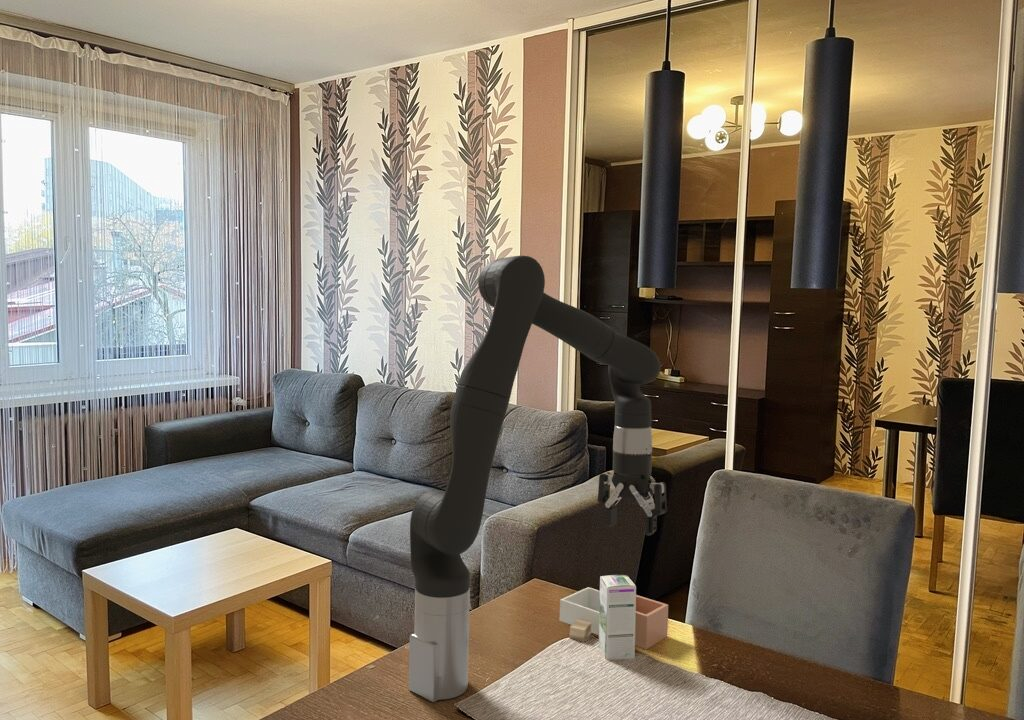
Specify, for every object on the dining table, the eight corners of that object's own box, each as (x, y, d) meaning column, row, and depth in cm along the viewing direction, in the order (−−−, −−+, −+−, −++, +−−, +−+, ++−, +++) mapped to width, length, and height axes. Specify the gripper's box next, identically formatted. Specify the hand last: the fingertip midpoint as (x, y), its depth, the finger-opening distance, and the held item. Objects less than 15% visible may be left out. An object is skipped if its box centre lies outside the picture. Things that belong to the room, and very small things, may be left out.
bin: (599, 638, 147) (600, 613, 146) (559, 623, 153) (560, 599, 153) (626, 623, 154) (627, 599, 154) (587, 609, 161) (588, 587, 161)
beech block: (583, 645, 144) (584, 630, 144) (569, 641, 145) (569, 627, 145) (590, 637, 147) (591, 622, 147) (576, 634, 149) (577, 619, 148)
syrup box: (635, 661, 137) (638, 585, 136) (604, 663, 136) (607, 585, 135) (626, 648, 143) (629, 574, 142) (596, 649, 142) (599, 574, 141)
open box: (645, 652, 141) (647, 616, 141) (610, 639, 146) (611, 604, 146) (667, 639, 147) (668, 604, 147) (632, 627, 152) (633, 594, 152)
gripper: (591, 446, 147) (590, 527, 148) (654, 456, 137) (653, 542, 139) (612, 441, 152) (610, 519, 154) (674, 450, 143) (672, 533, 144)
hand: (630, 530), depth 146 cm, fingers open, 8 cm apart
